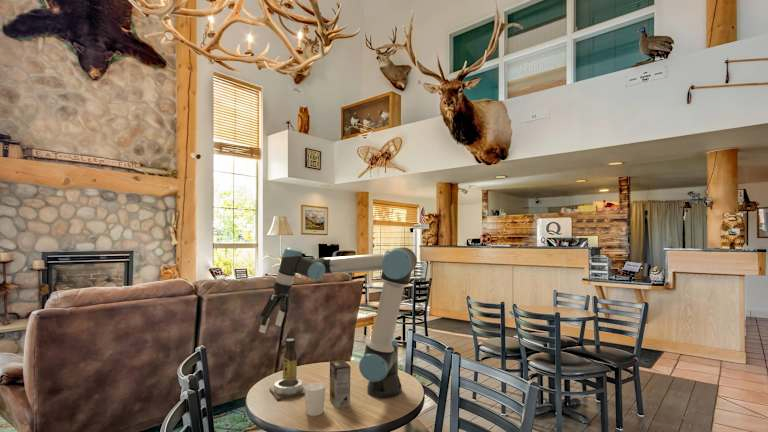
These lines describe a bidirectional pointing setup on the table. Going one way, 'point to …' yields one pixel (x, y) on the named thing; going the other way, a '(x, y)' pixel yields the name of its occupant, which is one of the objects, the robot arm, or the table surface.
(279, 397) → the walnut base
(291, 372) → the sauce bottle
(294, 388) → the steel collar
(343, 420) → the table surface
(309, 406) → the white cup
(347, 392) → the coffee box
